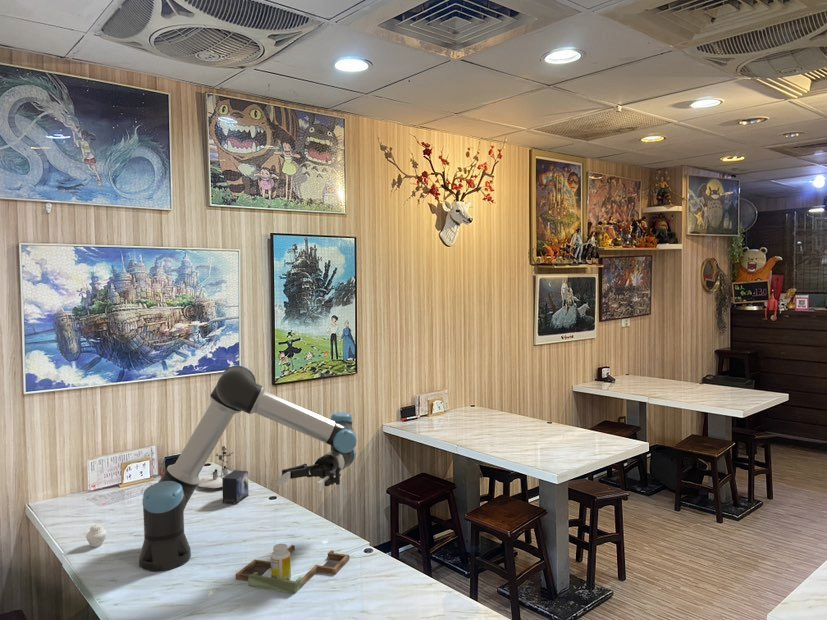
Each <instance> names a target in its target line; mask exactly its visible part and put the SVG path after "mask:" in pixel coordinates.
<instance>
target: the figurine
mask: <svg viewBox="0 0 827 620" xmlns="http://www.w3.org/2000/svg"><path fill="white" fill-rule="evenodd" d="M221 451H222V454H218V453H215V457H218V460H220V461H221V462H222V463H221V475H220V474H218V472H219V471H218V469H217V468H216V469H214V471H213V472H212V473H211V474H210V476H209V477H208V476H207V477H206V478H202V479H199V480H200V481H199V484H198V485H197V487H201V488H210V489H217V488H222V478H223V477H224V476H226V475H228V474H229V468H228V467H226V465H224V463H225V464H227V463H229V461H228V460H226V461H225V457H231V456H232V455H233V454H234V452H231V453H227V447H226V446H225V445H222V446H221ZM227 454H228V455H227Z"/></svg>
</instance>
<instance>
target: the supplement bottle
mask: <svg viewBox="0 0 827 620" xmlns="http://www.w3.org/2000/svg"><path fill="white" fill-rule="evenodd" d="M287 549H288V545H287V544H286V543H277V544H274V545H273V549H272V553H271V554H270V562H271V568H270V570H271V572H270V576H271V578H278V579H284V580H291V578H292V574H291V570H292V569H291V567H292V566H291V554H290V552H289V551H288V550H287Z"/></svg>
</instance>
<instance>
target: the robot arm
mask: <svg viewBox="0 0 827 620" xmlns="http://www.w3.org/2000/svg"><path fill="white" fill-rule="evenodd" d="M209 397H210V404H209V406H208V407H207V409H206V411H204V414H203V416H202V417H201V419H200V420H199V422H198V424H197V426H196V427H195V429H194V430H193V432H192V434H191V436H190V437H189V439H188V441H187V443H186V445H185V446H184V448H183V449H182V451H181V453H180V455H179V456H178V458H177V459H176V462H174V463H173V464H169V465H168V466H167V468H166V469H165V471H164V473H163V474H162V475H161V477H160V479H159V480H158V482H156V483H153V484H152V485H149V486H148V487H146V488H145V489H144V492H143V494H142V500H141V501H142V508H143V535H144V540H143V542H142V547H141V550H140V552H139V557H138V565H139V567H140V568H141V569H142V570H145V571H149V572H150V571H151V572H160V571H166V570H171V569H175V568H177V567H180V566H183V565H184V564H185V563H187V562H189V560H190V559H191V557H192V553H191V552H192V550H191V549H192V548H191V546H190V544H189V541H188V538H187V537H186V534H185V518H184V517H185V515H184V514H185V512H184V511H185V509H186V507H187V505H188V502H189V501H190V499H191V497H192V495H193V494H194V492H195V491H196V488H197V487H198V484H199V481H200V480H201V479H200V478H199V475H200V473H201V472H202V469H203V468H204V466H205V465H206V463H207V461H208V460H209V457H211V455H212V452H213V451H214V450H215V448H216V445H217V444H218V442H219V441H220V439H221V437H222V435H223V434H224V433H225V431H226V430H227V427H228V425H229V424H230V422H231V420H232V418H233V417H234V416H235V414H238V413H241V412H244V413H246V414H249V415H252V414H257V415H260V416H262V417H264V418H266V419H269V420H271V421H274V422H276V423H279V424H280V425H283V426H286V427H287V428H289V429H292V430H294V431H297V432H299V433H302V434H304V435H306V436H308V437H311V438H312V439H316V440H318V441H320V442H322V443H325V444H326V445H330V451H329V452H327V453H326V454H324V455H322V456H320V457H319V458H318V459H316V460H315V462H314V464H312V465H307V463H303V464H300V465H297V466H292V467H288V468H284V469H282V470H281V475H280V476H278V477H277V487H282V486H283V485H286V484H287V483H289V482H290V481H291V480H292V479H298V478H304V477H307V478H313V477H315V478H320V480H319V481H317V482H316V483H317V485H316V487H317V488H316V490H317V491H316V492H321V491H323V490H324V489H325V488H327V487H329V486H331V485H334V484H335V485H338V486H339V485H340V483H341V476H342V471H343V470H344V469H346V468H348V467H350V466H351V465H352V464H353V463H354V462H355V460H356V458H357V451H356V449H355V448H356V446H357V435H356V432H355V431H354V428H353V415H352V414H351V413H349V412H335V413H333V414H331V416H330V419H329V418H327V417H325V416H323V415H321V414H318V413H316V412H314V411H312V410H309V409H307V408H305V407H303V406H300V405H297V404H296V403H293V402H291V401H289V400H286V399H284V398H282V397H280V396H277V395H275V394H273V393H271V392H268V391H266V389H265V387H264V386H263V385H260V384H258V383H257V382H256V377H255V375H254V373H253V372H252V370H250V369H249V368H248V367H245V366H243V365H233V366H230V367H228V368H226V369H224V371H223V372H222V374H221V376H220V377H219V378H218V380H217V383H216V385H215V386H214V387H213V390H212V391H211V393H210V395H209Z"/></svg>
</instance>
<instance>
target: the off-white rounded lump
mask: <svg viewBox="0 0 827 620" xmlns="http://www.w3.org/2000/svg"><path fill="white" fill-rule="evenodd" d="M107 534H108V533H107V531H106V530H105V529H104V528H103V526H102V525H101V524H94V525H92V526H91V527H90V528H89V531H88V532H87V534H86V535H85V539H86V541H87V542H88V544H89V545H90V546H91V548H98V547H101V546H102V545H103V544H104V541H105V539H106V536H107Z"/></svg>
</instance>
